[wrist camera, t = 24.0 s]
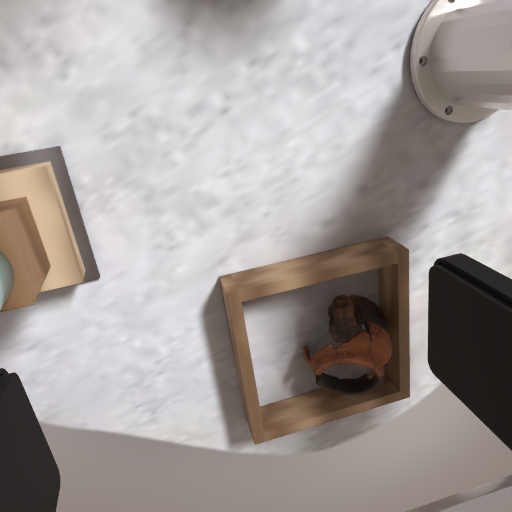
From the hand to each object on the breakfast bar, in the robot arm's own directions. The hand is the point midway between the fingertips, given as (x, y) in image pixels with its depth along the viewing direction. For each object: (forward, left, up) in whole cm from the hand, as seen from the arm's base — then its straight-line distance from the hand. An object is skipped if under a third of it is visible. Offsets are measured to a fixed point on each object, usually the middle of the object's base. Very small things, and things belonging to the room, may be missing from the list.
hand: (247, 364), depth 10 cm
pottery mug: (-15, +22, -33) cm, 42 cm away
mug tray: (-12, +22, -32) cm, 41 cm away
